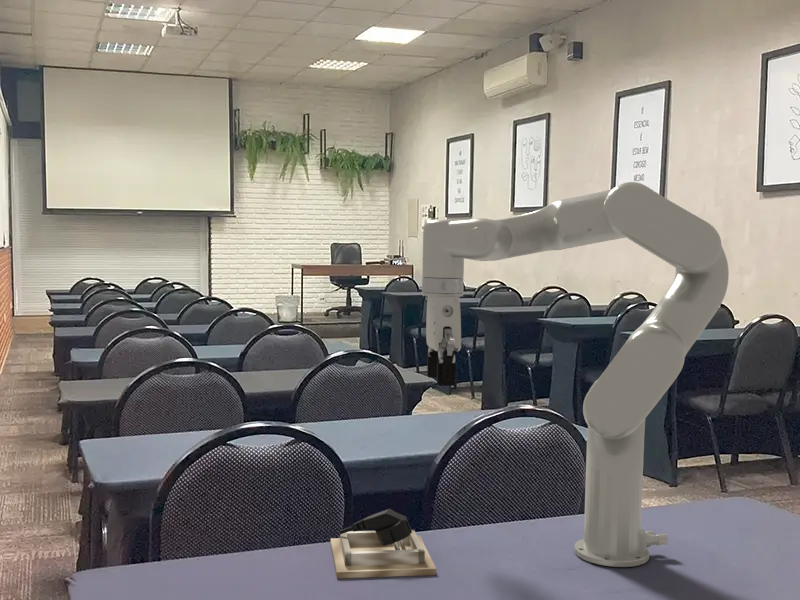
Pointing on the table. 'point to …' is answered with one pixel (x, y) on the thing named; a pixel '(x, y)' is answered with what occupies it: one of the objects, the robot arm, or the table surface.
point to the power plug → (385, 527)
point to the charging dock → (379, 556)
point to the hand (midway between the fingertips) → (440, 381)
